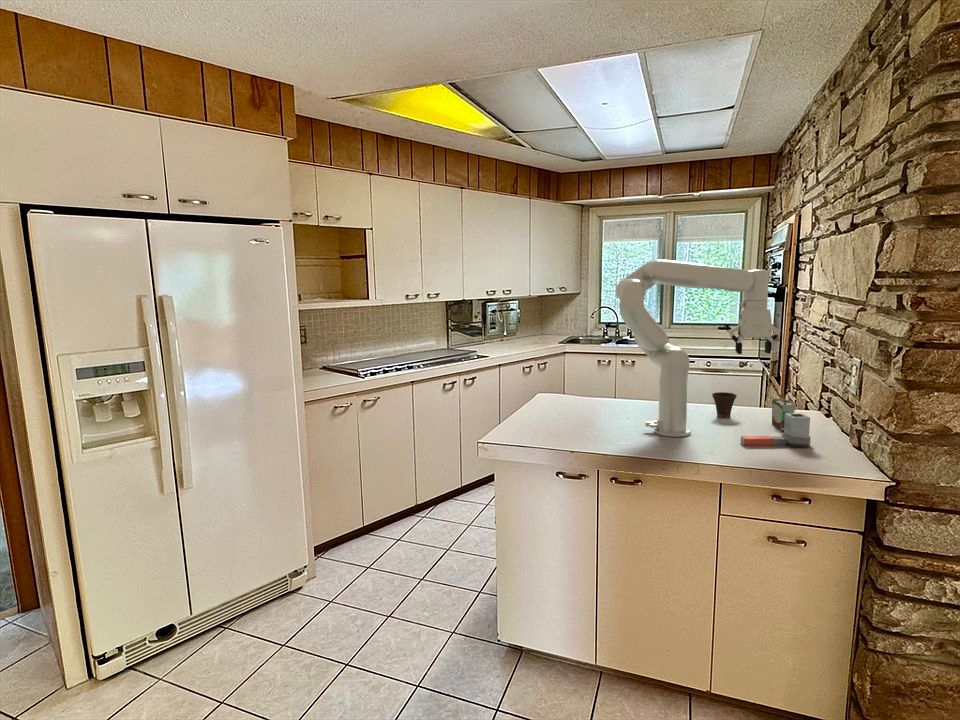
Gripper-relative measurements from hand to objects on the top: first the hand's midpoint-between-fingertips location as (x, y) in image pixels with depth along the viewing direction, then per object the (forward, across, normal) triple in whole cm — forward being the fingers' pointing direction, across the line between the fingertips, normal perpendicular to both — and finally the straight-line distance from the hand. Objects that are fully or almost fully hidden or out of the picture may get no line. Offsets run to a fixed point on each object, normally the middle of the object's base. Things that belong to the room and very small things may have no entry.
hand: (753, 353), depth 190 cm
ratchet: (+28, +2, -17) cm, 33 cm away
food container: (+28, +13, +2) cm, 31 cm away
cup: (+28, -3, +19) cm, 34 cm away
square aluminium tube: (+25, +8, -17) cm, 32 cm away
